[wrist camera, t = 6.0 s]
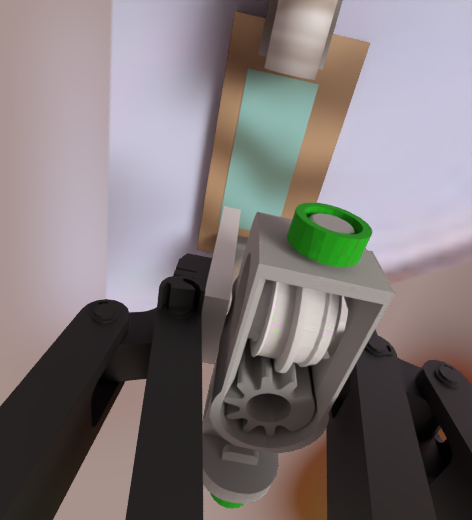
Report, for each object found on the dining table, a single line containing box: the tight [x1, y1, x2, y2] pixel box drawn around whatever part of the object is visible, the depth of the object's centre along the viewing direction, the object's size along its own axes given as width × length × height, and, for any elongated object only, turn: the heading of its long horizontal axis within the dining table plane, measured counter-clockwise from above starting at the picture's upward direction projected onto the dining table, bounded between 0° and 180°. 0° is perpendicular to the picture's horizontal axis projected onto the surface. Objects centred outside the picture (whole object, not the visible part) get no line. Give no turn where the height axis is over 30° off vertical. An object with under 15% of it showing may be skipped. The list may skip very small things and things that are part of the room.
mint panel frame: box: [197, 0, 370, 312], centre depth 25 cm, size 23×9×7 cm, turn 169°
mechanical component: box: [202, 202, 395, 508], centre depth 13 cm, size 3×10×10 cm, turn 168°
